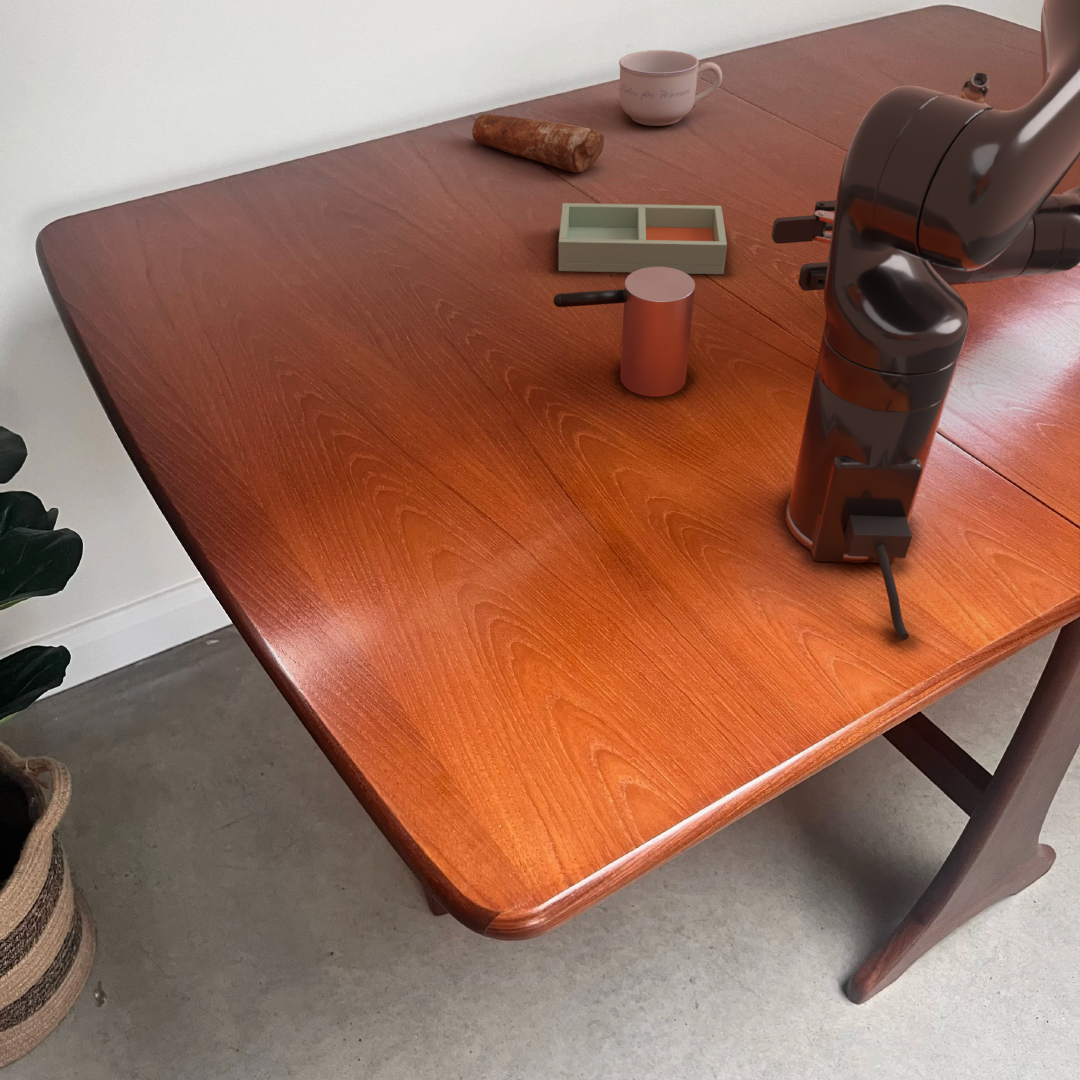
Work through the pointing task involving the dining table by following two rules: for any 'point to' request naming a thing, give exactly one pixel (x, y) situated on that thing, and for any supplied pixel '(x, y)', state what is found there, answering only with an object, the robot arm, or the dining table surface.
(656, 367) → the handled metal cylinder
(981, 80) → the vase
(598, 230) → the divided box
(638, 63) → the teacup
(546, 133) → the bread
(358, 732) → the dining table surface
